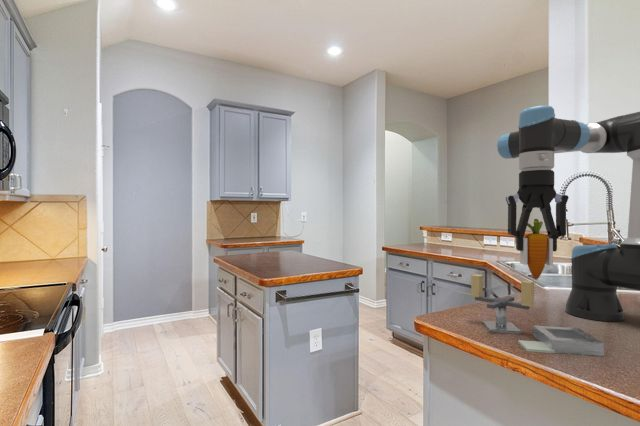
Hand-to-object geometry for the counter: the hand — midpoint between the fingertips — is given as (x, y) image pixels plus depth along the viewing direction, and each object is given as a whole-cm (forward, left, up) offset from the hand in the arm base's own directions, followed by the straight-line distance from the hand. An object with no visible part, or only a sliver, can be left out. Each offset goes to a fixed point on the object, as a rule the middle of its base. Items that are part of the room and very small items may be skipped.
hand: (536, 264), depth 87 cm
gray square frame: (-8, -3, -21) cm, 22 cm away
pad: (0, 0, -21) cm, 21 cm away
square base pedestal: (+4, -14, -21) cm, 25 cm away
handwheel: (+4, -14, -14) cm, 20 cm away
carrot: (0, 0, -4) cm, 4 cm away
